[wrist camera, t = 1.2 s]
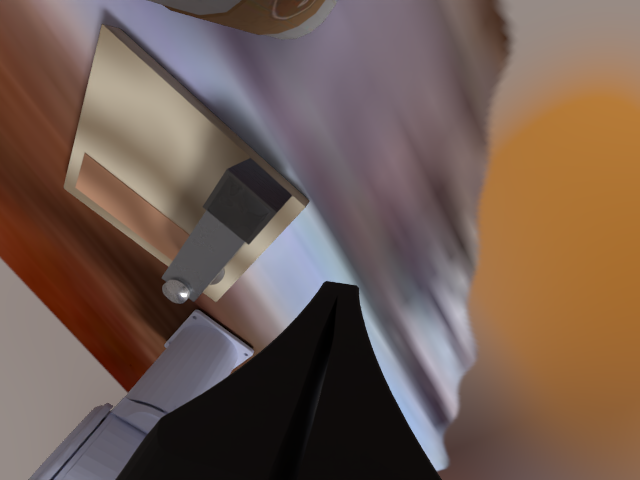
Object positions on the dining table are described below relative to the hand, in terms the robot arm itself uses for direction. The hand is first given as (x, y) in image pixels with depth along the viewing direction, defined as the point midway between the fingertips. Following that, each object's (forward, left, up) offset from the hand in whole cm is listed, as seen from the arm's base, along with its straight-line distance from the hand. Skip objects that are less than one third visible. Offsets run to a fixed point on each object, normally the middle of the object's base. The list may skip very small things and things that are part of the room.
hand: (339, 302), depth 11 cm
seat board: (-9, +11, -10) cm, 17 cm away
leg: (-8, +6, -8) cm, 13 cm away
